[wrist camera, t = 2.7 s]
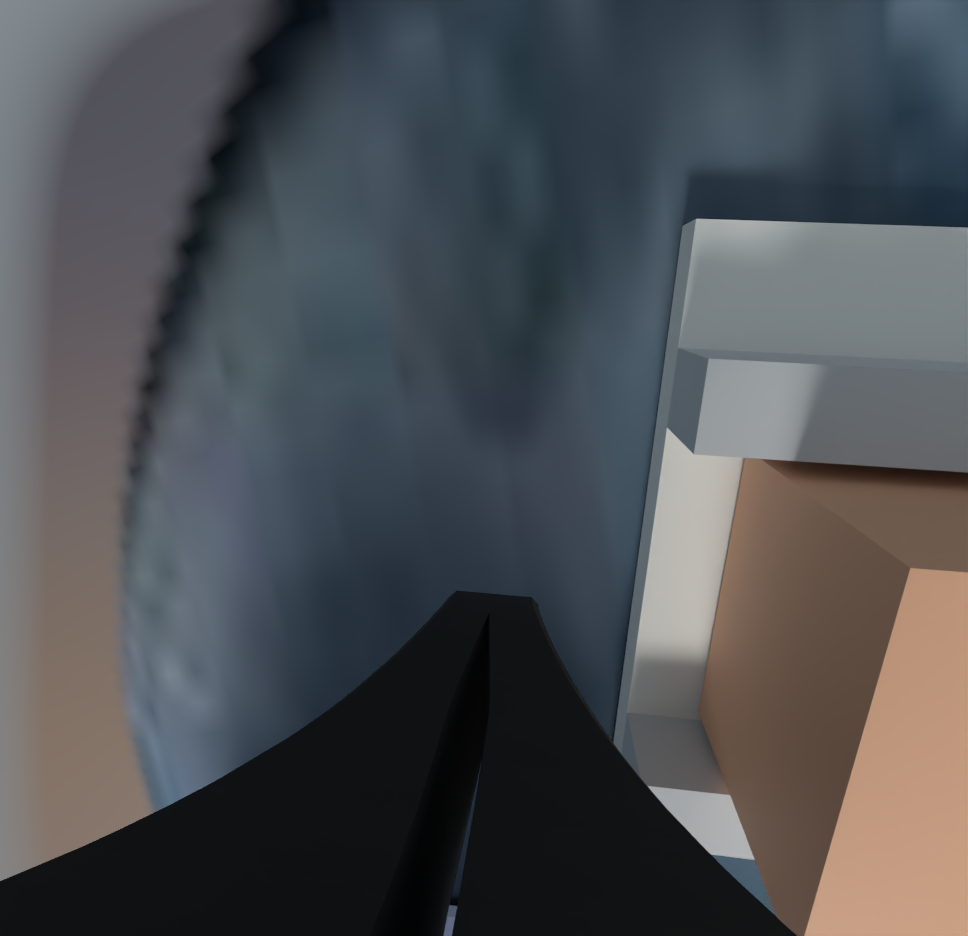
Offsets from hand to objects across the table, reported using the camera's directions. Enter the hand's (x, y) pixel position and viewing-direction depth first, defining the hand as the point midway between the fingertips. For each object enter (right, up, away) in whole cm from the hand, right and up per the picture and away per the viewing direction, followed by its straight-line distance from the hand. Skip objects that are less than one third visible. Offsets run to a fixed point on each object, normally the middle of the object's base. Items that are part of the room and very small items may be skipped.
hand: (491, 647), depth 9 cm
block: (+7, 0, +2) cm, 8 cm away
